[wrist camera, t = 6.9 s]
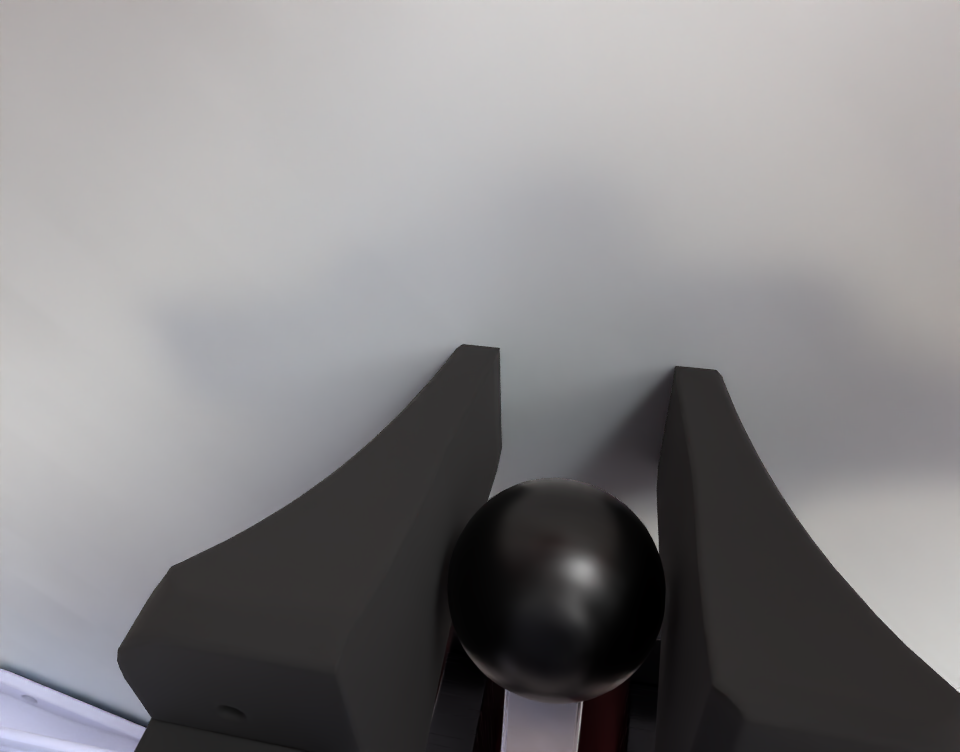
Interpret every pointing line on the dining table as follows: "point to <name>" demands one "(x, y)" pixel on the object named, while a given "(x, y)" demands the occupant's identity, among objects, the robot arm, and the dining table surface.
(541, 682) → the toaster lever
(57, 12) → the dining table surface
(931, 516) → the dining table surface
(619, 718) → the lever bracket
